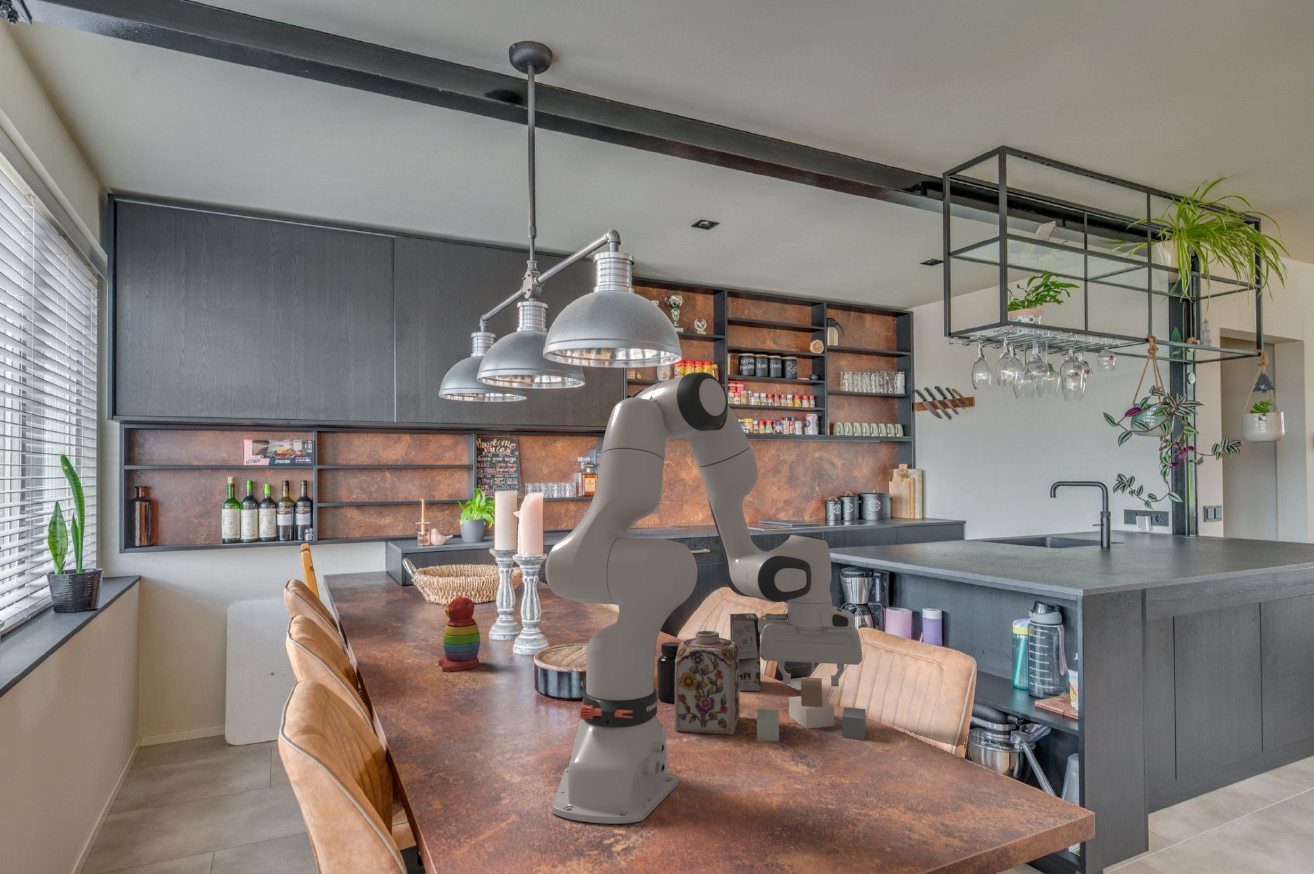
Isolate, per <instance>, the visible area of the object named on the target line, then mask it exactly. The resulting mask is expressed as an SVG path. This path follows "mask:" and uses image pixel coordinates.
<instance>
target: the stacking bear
mask: <svg viewBox="0 0 1314 874" xmlns="http://www.w3.org/2000/svg"><path fill="white" fill-rule="evenodd" d="M444 612H445V614H446V617H447V618H448V619H449V620H448V621H447V622H446V626H445V630H444V634H443V638H442V639H443V640H442V642H443V644H442V646H443V650H444V655H445V656H441V658H439V659H438V661H437V662H438V664H437V665H438V666H440V665H441V666H440V667H441V670H442V671H443V672H444V671H446V672H445V673H451V672H450V671H455V672H461V670H462V671H466V670H465V669H467V670H470V668H471V669H474V668H476V667H478V666H480V660H479V657H478V654H479V649H480V647H481V635H480V634H481V633H480V631H479V630H480V629H479V625H478V623H477V621H476V620H475V619H474V618H473V616H474V612H475V603H474V602H473V600H472V599H470V598H469V597H466V596H465V597H463V596H461V595H458V597H455V598H454V599H452V600H451V602H450V603H449V605H448V606H447V607H446V608H445V611H444ZM473 667H474V668H473Z"/></svg>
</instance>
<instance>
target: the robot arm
mask: <svg viewBox="0 0 1314 874" xmlns="http://www.w3.org/2000/svg"><path fill="white" fill-rule="evenodd" d="M728 402H729V400H728V395H727V392H726V390H725V388H724V386H723V384H722V383H721V381H720V380H719V379H718V378H716V377H715V376H714V375H712V374H711V373H709V372H703V371H702V372H701V371H699V372H691V373H687V374H685V375H684V376H679V377H675V378H671V379H667V380H662V381H660V382H658V383H657V382H656V383H654V384H653V385H651V386H649V387H647V388H645V389H641V390H639V391H637V392H635V393H633V394H632V395H631V396H630V397H627V398H625V399H622V400H621V401H619V402H618V403H616V404H615V406H614V407H613V408H612V410H611V413H610V417H609V419H608V422H607V425H606V430H605V433H604V438H603V443H602V445H601V447H602V448H601V452H600V453H601V454H600V461H599V469H598V474H597V480H596V485H595V489H594V494H593V497H592V501H591V502H590V505H589V507H588V509H587V511H586V512H585V514H584V516H583V517H582V518H581V520H580V522H579V523H578V524H577V525H576V527H575V528H574V529H573V530H572V531H571V532H570V533H568V534H567V535H566V536H564V537H563V538H561V539H560V540H558V541H557V542H556V543H555V544H554V545H553V546H552V547H551V549H550V551H549V553H548V554H547V556H546V557H547V558H546V560H545V564H544V565H545V566H544V567H545V568H544V573H545V580H546V582H547V585H548V587H549V589H550V590H551V592H552V593H553V594H554V595H555V596H556V597H560V598H562V599H565V600H569V601H573V602H577V603H583V604H599V605H600V604H601V605H615V606H618V614H617V615H618V616H617V620H616V621H615V623H613V624H611V625H608V626H605V627H604V628H602V629H600V630H599V631H598V632H596V633H595V634H594V635H593V636H592V637H591V638H590V640H589V641H588V643H587V645H586V646H587V647H586V650H585V651H586V652H585V655H586V657H585V658H586V659H585V660H586V661H585V662H586V663H585V666H586V667H585V668H586V669H585V671H586V672H585V673H586V675H585V676H586V677H585V678H586V679H585V682H586V683H585V685H586V686H585V687H586V688H585V690H584V691H583V698H582V701H581V702H582V703H581V705H580V708H579V718H580V721H579V722H578V723H577V726H578V727H577V731H576V734H575V735H576V736H575V739H574V743H573V747H572V752H571V754H570V756H569V764H568V766H567V767H566V768H565V769H564V771H563V773H562V774H563V775H562V777H561V780H560V783H559V786H558V788H557V791H556V794H555V796H554V799H553V802H552V808H551V813H553V814H554V815H556V816H557V817H558V816H559V817H562V818H565V819H567V820H572V821H577V822H585V823H595V824H596V823H597V824H614V825H615V824H617V825H619V824H620V825H621V824H632V823H639V822H641V821H644V820H645V819H646V818H647V817H648V816H649V815H650V814H651V813H652V812H653V811H654V810H655V809H656V808H657V807H658V806H659V805H660V804H661V803H662V801H663V800H664V799H665V798H666V797H667V796H668V795H669V794H670V793H671V792H672V791H673V790H674V789H675V788H676V787H677V786H678V785H679V778H678V776H677V775H676V774H675V773H673V772H670V771H669V762H668V761H669V759H668V743H667V741H668V740H667V739H668V738H667V730H666V728H665V726H664V725H663V724H662V723H661V722H660V720H659V719H658V717H657V713H658V701H659V699H658V690H657V689H656V688H655V665H656V664H655V661H656V660H655V659H656V649H657V642H658V639H659V634H660V633H661V630H662V628H663V626H664V624H665V622H666V621H667V619H668V618H669V616H670V615H671V614H672V613H673V612H674V610H675V609H677V608H678V607H679V606H681V605H682V604H684V603H685V602H686V601H687V599H689V597H690V596H691V595H692V594H693V592H694V590H695V588H696V585H697V581H698V566H697V562H696V558H695V556H694V554H693V552H692V551H691V549H690V548H689V547H688V546H687V545H686V544H684V543H682V542H678V541H674V540H669V539H664V538H661V537H633V536H632V537H630V536H627V534H628V533H629V531H630V529H631V528H632V527H633V525H635V524H637V522H638V521H641V520H643V519H645V518H647V517H648V516H650V515H651V514H653V513H654V512H655V511H656V510H657V508H658V506H659V504H660V502H661V500H662V499H661V498H662V490H663V480H664V472H665V469H664V468H665V460H666V459H665V457H666V441H672V440H679V439H683V438H684V439H686V441H687V442H688V444H689V445H690V449H691V453H692V455H693V459H694V463H696V466H697V469H698V472H699V474H700V477H701V479H702V482H703V484H704V485H703V486H704V488H705V491H706V495H707V501H708V506H709V508H710V512H711V516H712V519H713V522H714V525H715V528H716V532H717V535H718V538H719V541H720V545H721V548H722V553H723V558H724V560H723V561H724V562H723V563H724V564H723V565H724V570H723V571H724V577H725V581H726V583H727V586H728V587H729V589H730V590H731V591H732V592H734V593H735V594H736V595H738V596H741V597H747V598H754V599H758V600H761V601H765V602H766V601H767V602H771V603H782V602H786V603H787V613H771V612H770V613H765V615H761V616H760V617H759V621H758V631H759V633H760V659H761V660H762V661H770V662H777V663H776V664H777V666H776V667H777V668H778V671H779V672H780V673H781V675H782V684H783V685H785V684H786V685H791V683H792V681H791V677H792V674H791V672H787V671H786V670H785V668H784V667H785V664H786V663H785V662H787V663H788V662H789V663H810V664H811V663H813V664H831V665H832V664H834V665H836V670H837V671H836V673H835V675H832V674H831V675H830V678H831V679H830V685H831V687H837V688H838V687H840V686H839V685H840V684H839V683H840V682H839V681H840V680H839V679H840V677H841V676H842V674H843V673H844V671H845V665H852V666H853V665H856V666H858V665H859V666H860V664H861V663H862V662H863V652H862V651H863V649H862V642H861V638H860V635H859V632H858V629H857V627H856V626H855V624H856V617H855V616H854V614H853V612H851V611H849V610H847V609H843V608H840V607H837V606H834V605H833V598H832V595H831V592H830V591H831V590H830V589H831V588H830V586H831V581H832V561H831V552H830V547H829V544H828V542H827V541H826V540H825V539H824V538H822V537H821V536H816V535H811V534H809V535H808V534H802V533H793V534H791V535H790V536H789V537H788V539H786V540H785V541H784V542H783V543H782V544H780V545H779V546H777V547H775V548H773V549H771V550H769V551H765V550H762V549H760V548H759V547H757V545H755V543H754V541H753V540H752V537H751V534H750V530H749V527H748V525H747V521H746V518H745V515H744V512H743V502H744V499H745V498H746V497H747V496H748V495H749V494H750V493H751V492H752V491H753V489H754V487H755V485H756V483H757V480H758V478H759V472H758V465H757V461H756V457H755V455H754V451H753V450H752V448H751V447H752V446H751V445H750V442H749V440H748V437H747V436H746V433H745V431H744V429H743V427H742V425H741V423H740V422H739V420H738V418H737V416H736V415H735V413H734V412H733V410H732V408H731V407H730V406H729V403H728ZM626 536H627V537H626Z"/></svg>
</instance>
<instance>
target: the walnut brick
mask: <svg viewBox="0 0 1314 874" xmlns="http://www.w3.org/2000/svg"><path fill="white" fill-rule="evenodd" d="M822 679H823V678H822V677H807V676H805V677H804V676H801V680H800V681H801V683H800V695H801V706H816V707H822V699H823V686H822V685H823V684H822V683H823V682H822Z"/></svg>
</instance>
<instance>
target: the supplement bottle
mask: <svg viewBox="0 0 1314 874" xmlns="http://www.w3.org/2000/svg"><path fill="white" fill-rule="evenodd" d="M680 643H681V641H680V642H679V641H678V642H677V641H667V642H666V641H665V642H663V643H661V645H660V646H661V650H660V653H661V655H660V656H658V658H657V660H656V661H657V662H656V668H657V670H656V672H657V673H656V674H657V677H656V678H657V698H658V701H660V702H663V703H666V704H667V703H668V704H675V659H676V653H677V651H678V647H679V644H680Z"/></svg>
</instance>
